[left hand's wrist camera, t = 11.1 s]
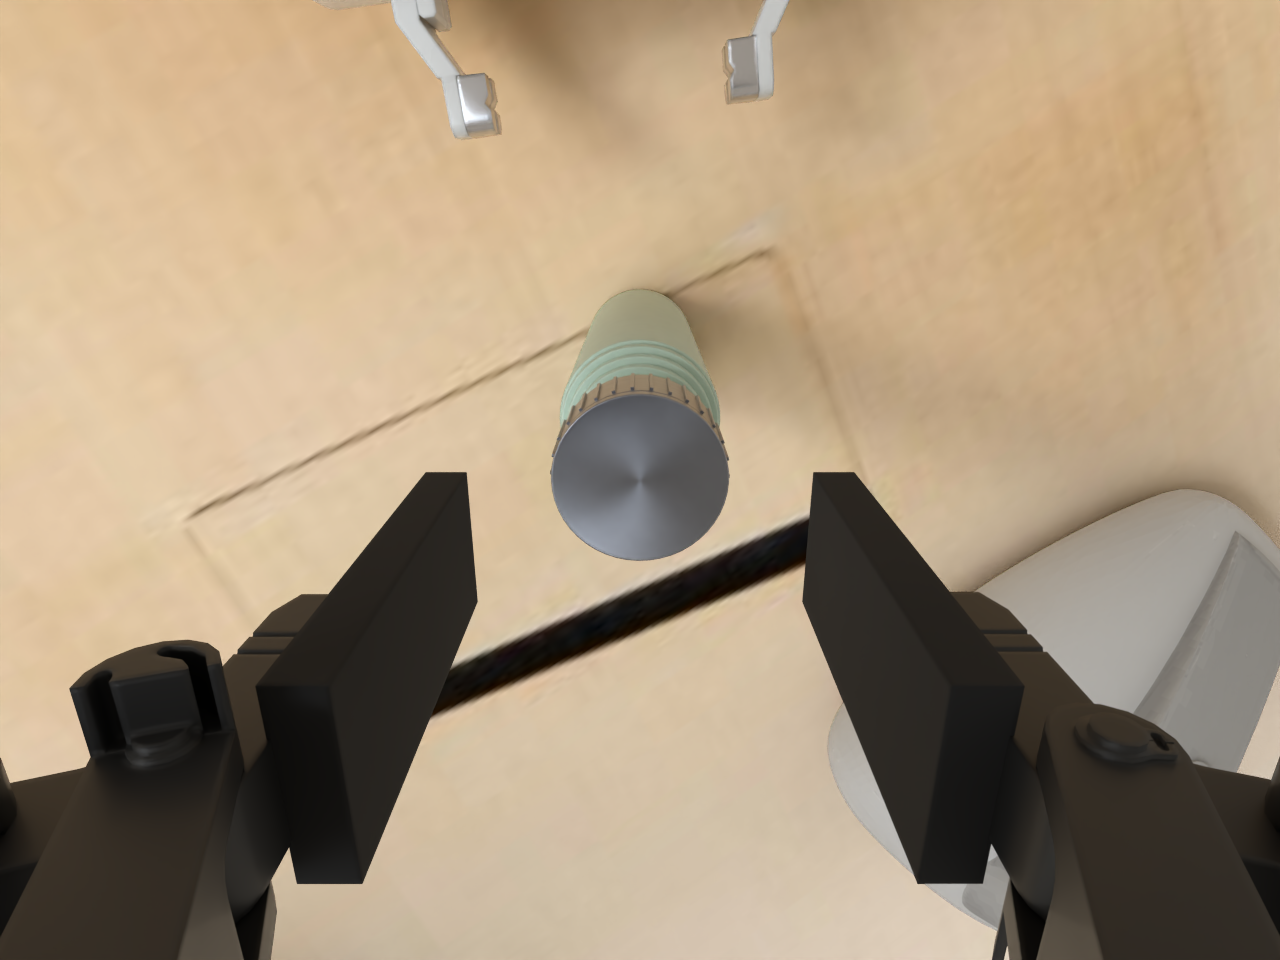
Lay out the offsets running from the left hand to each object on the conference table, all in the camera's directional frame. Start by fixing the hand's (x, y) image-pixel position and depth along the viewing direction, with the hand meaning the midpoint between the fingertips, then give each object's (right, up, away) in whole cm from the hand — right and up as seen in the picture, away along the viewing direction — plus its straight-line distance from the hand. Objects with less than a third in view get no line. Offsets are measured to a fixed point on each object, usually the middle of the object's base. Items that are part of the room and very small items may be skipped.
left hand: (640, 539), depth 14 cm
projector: (+21, -8, +26) cm, 35 cm away
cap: (0, +1, +3) cm, 4 cm away
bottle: (0, +8, +20) cm, 22 cm away
